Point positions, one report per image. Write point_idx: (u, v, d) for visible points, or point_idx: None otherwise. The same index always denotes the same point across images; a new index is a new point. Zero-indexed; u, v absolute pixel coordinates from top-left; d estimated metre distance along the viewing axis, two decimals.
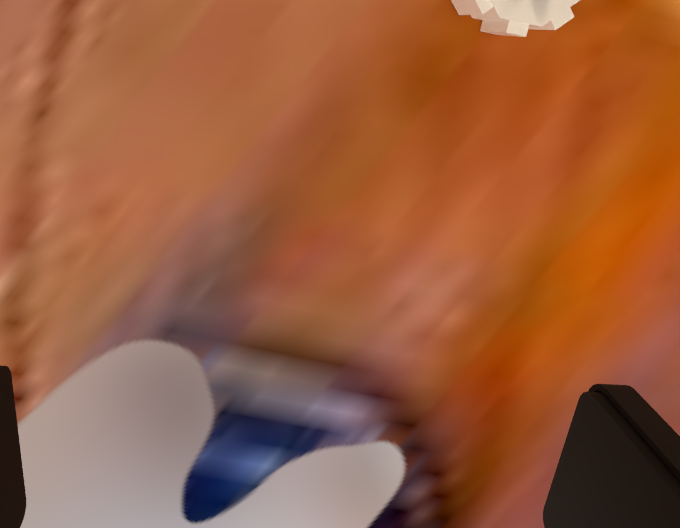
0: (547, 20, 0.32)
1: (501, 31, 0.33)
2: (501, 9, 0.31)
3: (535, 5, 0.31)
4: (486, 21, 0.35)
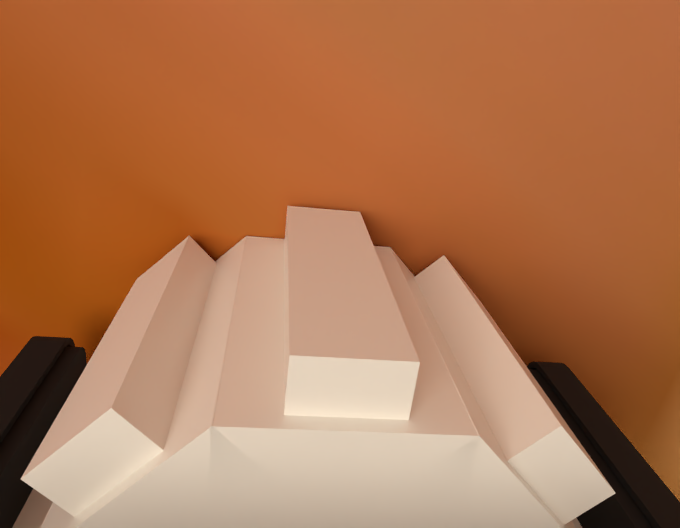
0: None
1: None
2: None
3: None
4: None
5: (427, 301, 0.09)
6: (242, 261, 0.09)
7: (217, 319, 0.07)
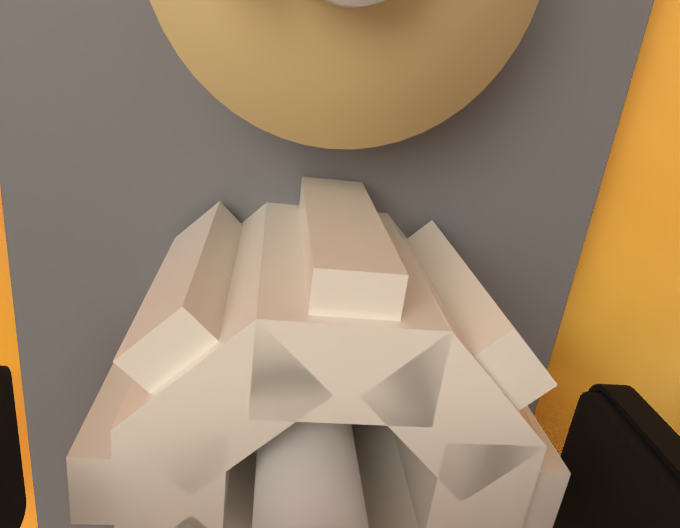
0: None
1: (87, 421, 0.09)
2: (143, 429, 0.08)
3: None
4: None
5: (417, 255, 0.11)
6: (265, 220, 0.11)
7: (249, 260, 0.09)
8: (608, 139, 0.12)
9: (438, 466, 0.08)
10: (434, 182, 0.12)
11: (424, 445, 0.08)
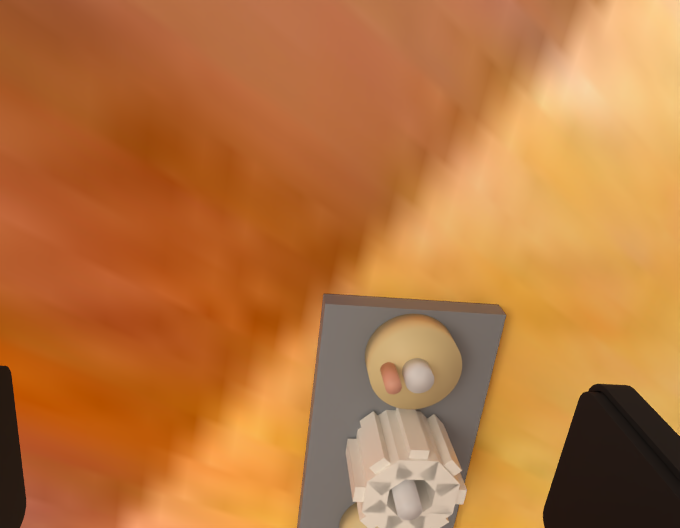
0: (367, 514, 0.37)
1: (354, 478, 0.37)
2: (373, 481, 0.36)
3: (378, 504, 0.36)
4: (357, 446, 0.40)
5: (430, 427, 0.39)
6: (388, 419, 0.39)
7: (389, 437, 0.37)
8: (485, 390, 0.40)
9: (435, 488, 0.36)
10: (434, 403, 0.40)
11: (432, 484, 0.36)
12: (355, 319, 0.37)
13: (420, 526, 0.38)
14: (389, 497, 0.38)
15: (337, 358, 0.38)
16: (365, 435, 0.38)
